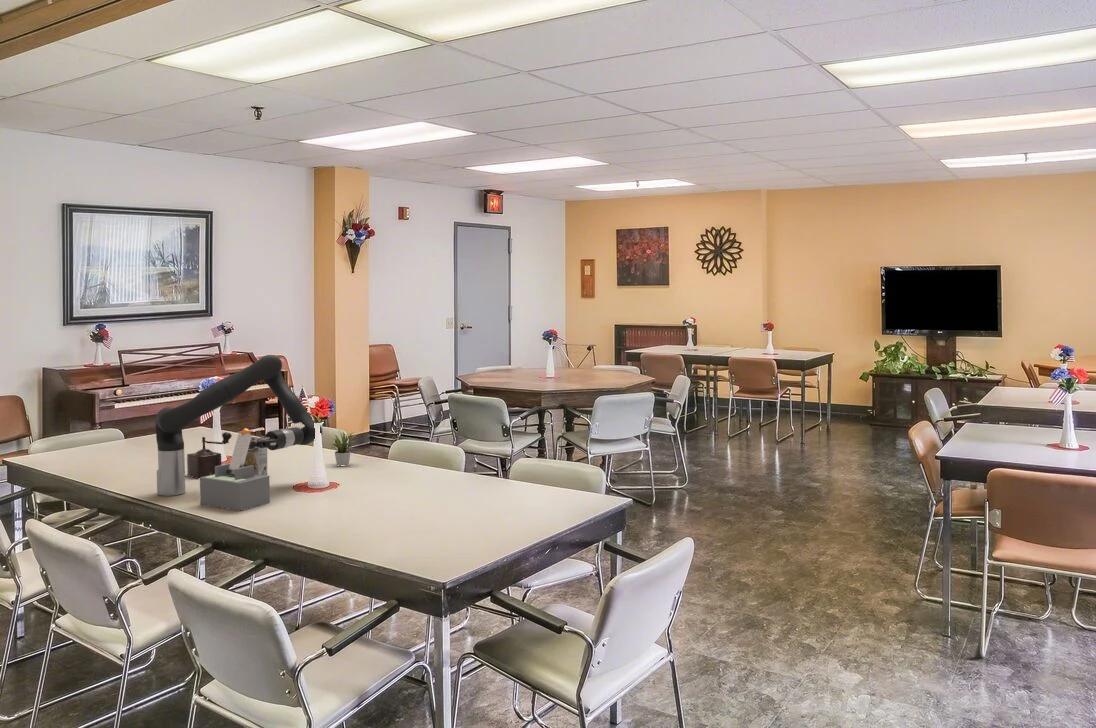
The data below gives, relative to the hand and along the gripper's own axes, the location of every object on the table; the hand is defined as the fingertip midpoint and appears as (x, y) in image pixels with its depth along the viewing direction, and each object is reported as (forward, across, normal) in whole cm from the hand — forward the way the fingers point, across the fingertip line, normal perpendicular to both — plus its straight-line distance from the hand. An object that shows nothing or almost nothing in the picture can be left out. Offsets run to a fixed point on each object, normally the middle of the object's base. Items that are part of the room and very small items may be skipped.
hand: (245, 446), depth 301 cm
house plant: (-68, -11, +21) cm, 72 cm away
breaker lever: (+6, 0, +10) cm, 12 cm away
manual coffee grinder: (-26, -49, +21) cm, 59 cm away
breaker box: (+5, 0, +21) cm, 21 cm away
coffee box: (-33, -31, +21) cm, 50 cm away
